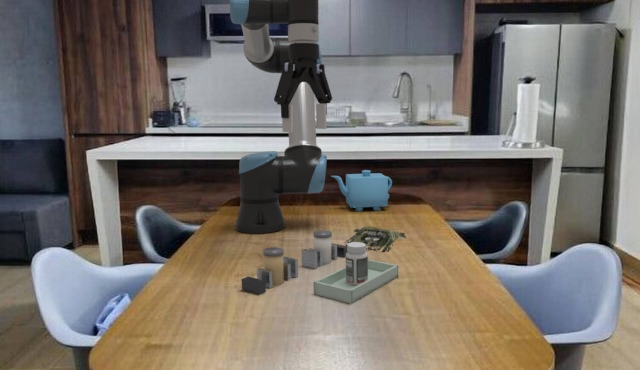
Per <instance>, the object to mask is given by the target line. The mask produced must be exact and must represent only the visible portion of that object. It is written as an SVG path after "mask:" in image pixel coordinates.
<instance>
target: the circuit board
mask: <svg viewBox="0 0 640 370" xmlns="http://www.w3.org/2000/svg"><path fill="white" fill-rule="evenodd" d="M353 231H354V232H356V233H354V235H352V237H350V238H349V239H346V241H345V242H346V243H345V246H347V244H348V243H351V242H361V243H364V244H366V253H367V252H369V251H373V252H377V251H378V252H379V251H380V250H381V249H382V248H383V249H382V251H381V252H382V253H383V252H390V251H391V250H392V248H393V246H394V242H395V241H397V240H398V239H399V240H406V238H407V236H406V233H405V232H399V231H395V230H393V229H392V230H390V229H387V228H381V227H375V226H363V227H362V228H355V229H354V230H353ZM340 245H342V244H340Z"/></svg>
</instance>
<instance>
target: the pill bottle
mask: <svg viewBox="0 0 640 370" xmlns="http://www.w3.org/2000/svg"><path fill="white" fill-rule="evenodd" d="M347 243H348V242H347ZM347 243H346V244H347ZM366 248H367V246H366V244H364V243H361V242H351V243H348V244H347V251H348V252H347V253H346V257H345V267H346V282H347V283H348V284H352V285H359V284H361V283H363V282H365V281H367V280H368V257H369V256H368V253H367V250H366Z"/></svg>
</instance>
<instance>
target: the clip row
mask: <svg viewBox="0 0 640 370" xmlns="http://www.w3.org/2000/svg"><path fill="white" fill-rule="evenodd" d="M347 252H348V251H347V246H346V245H345V244H343V245H341V244H338V243H332V242H331V260H334V261H336V260H337V259H338V257H340V258H346V253H347ZM283 266H284V281H290V280H292V278H298V277H299V259H297V258H293V257H289V256H283ZM321 266H324V264H323V259H322V251H320V250H316V249H314V248H309V249H306V248H302V249H301V267H305V268H310V269H312V270H313V269H314V270H316V269H318V267H321ZM273 287H274V286H273V284H272V271H270V270H266V269H264V268H261V267H260V268H257V269H256V278H255V277H252V276H246V277H244V278H241V290H242V291H245V292H249V293H252V294H255V295H258V296H260V295H262V294H265V293H266V292H267V289H271V288H273ZM266 288H267V289H266Z"/></svg>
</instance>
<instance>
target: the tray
mask: <svg viewBox="0 0 640 370" xmlns="http://www.w3.org/2000/svg"><path fill="white" fill-rule="evenodd" d="M398 277H399V265H398V264H393V263H387V262H382V261H377V260H373V259H368V280H367V281H365V282H363V283H361V284H359V285H352V284H348V283H347V282H346V266H344V267H342V268H340V269H337V270H336V271H334V272H332V273H330V274H328V275H325V276H323V277H321V278H318V279H317V280H314V281H313V294H314V295H317V296H321V297H325V298H328V299H331V300H335V301H340V302H343V303H347V304H353V303H354V302H356V301H358V300H360V299H361V298H364V297H365V296H367V295H368V294H371V293H372V292H374V291H376V290H377V289H380V288H381V287H382V286H384V285H386V284H388V283H389V282H392V281H393V280H394V279H397V278H398Z"/></svg>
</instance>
